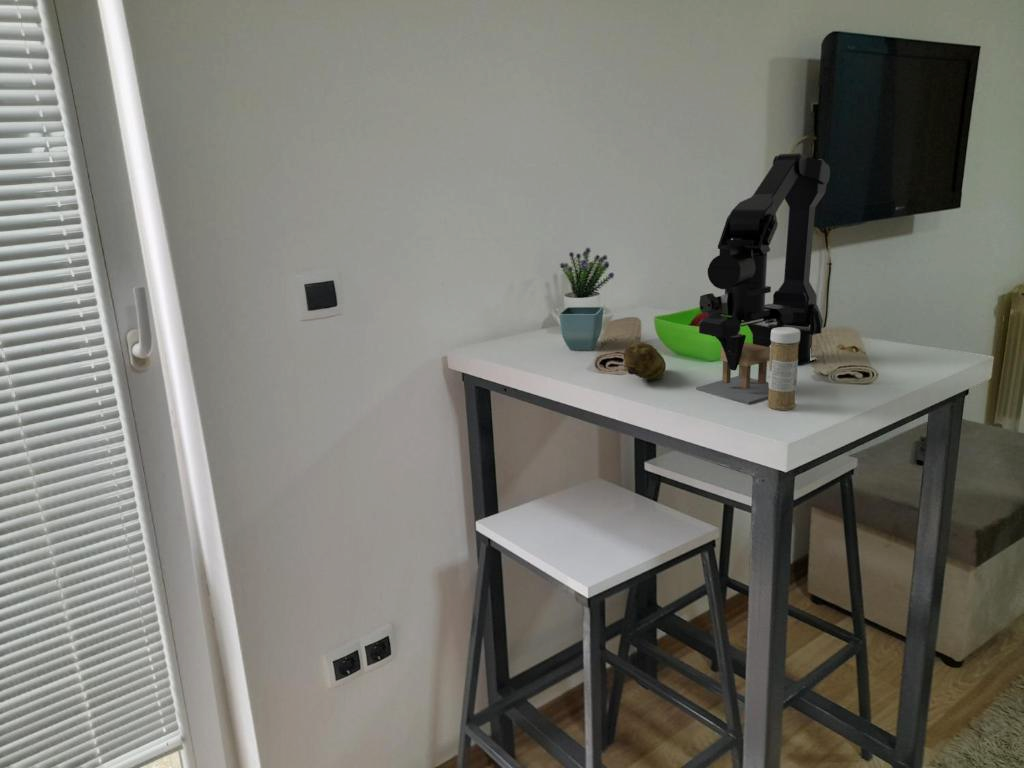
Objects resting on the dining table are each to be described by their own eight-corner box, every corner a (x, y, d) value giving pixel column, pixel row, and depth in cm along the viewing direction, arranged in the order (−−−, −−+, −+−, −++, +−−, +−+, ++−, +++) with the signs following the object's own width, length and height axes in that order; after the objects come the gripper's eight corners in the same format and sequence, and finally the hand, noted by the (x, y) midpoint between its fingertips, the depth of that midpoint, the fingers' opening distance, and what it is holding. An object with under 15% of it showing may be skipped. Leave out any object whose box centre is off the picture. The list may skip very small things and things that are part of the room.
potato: (682, 375, 146) (683, 335, 144) (645, 390, 137) (645, 349, 135) (647, 369, 152) (647, 331, 149) (609, 383, 143) (609, 343, 141)
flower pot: (559, 352, 169) (558, 313, 166) (567, 343, 177) (566, 306, 174) (597, 353, 166) (596, 314, 164) (604, 344, 174) (603, 306, 172)
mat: (739, 377, 143) (739, 375, 143) (792, 390, 133) (793, 388, 133) (696, 389, 136) (696, 387, 136) (748, 404, 127) (748, 402, 127)
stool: (741, 376, 138) (743, 342, 137) (768, 383, 134) (770, 347, 132) (719, 382, 135) (721, 347, 133) (746, 389, 130) (747, 353, 129)
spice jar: (774, 401, 128) (778, 325, 124) (800, 406, 125) (805, 328, 121) (762, 408, 125) (766, 330, 121) (788, 413, 122) (793, 333, 118)
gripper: (747, 270, 140) (743, 350, 145) (676, 282, 131) (675, 367, 135) (797, 276, 131) (792, 360, 136) (726, 289, 122) (722, 380, 126)
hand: (745, 366), depth 134 cm, fingers closed on stool, 6 cm apart
